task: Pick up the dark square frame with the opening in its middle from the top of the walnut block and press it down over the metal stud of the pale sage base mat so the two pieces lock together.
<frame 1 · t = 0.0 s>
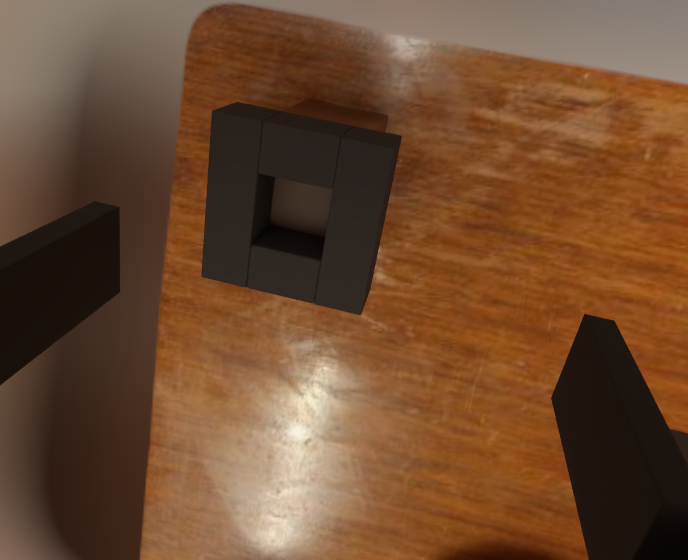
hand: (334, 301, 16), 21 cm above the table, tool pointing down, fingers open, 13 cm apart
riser: (338, 164, 36), on the table
dark square frame: (306, 199, 28), point 8 cm above the table, touching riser
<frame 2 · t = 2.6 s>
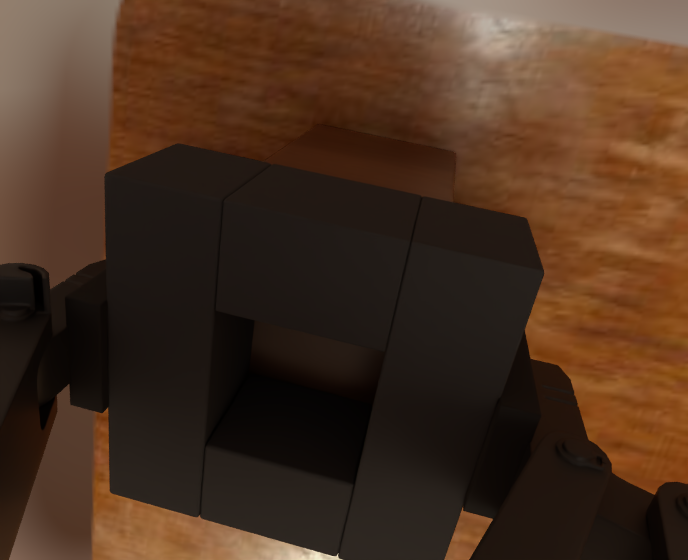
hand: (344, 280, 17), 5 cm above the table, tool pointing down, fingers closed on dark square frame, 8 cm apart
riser: (368, 229, 22), on the table
dark square frame: (320, 332, 14), point 8 cm above the table, touching gripper, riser
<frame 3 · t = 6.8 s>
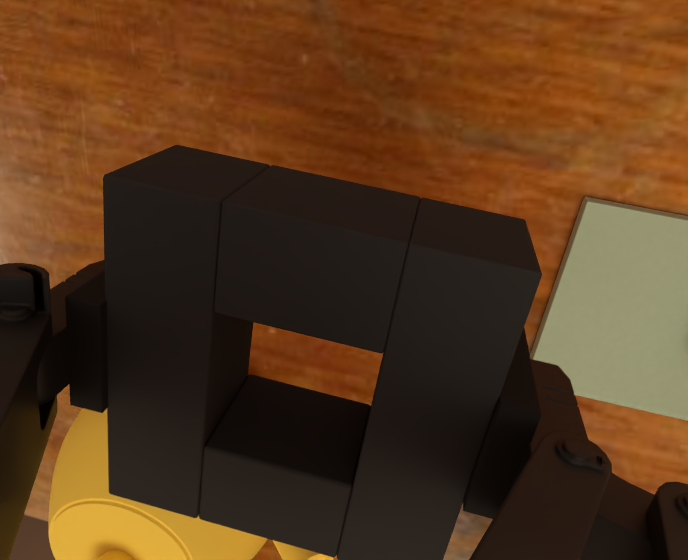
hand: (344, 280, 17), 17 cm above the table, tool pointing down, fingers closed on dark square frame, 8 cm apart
teapot: (231, 434, 44), on the table
dark square frame: (319, 333, 14), point 20 cm above the table, touching gripper
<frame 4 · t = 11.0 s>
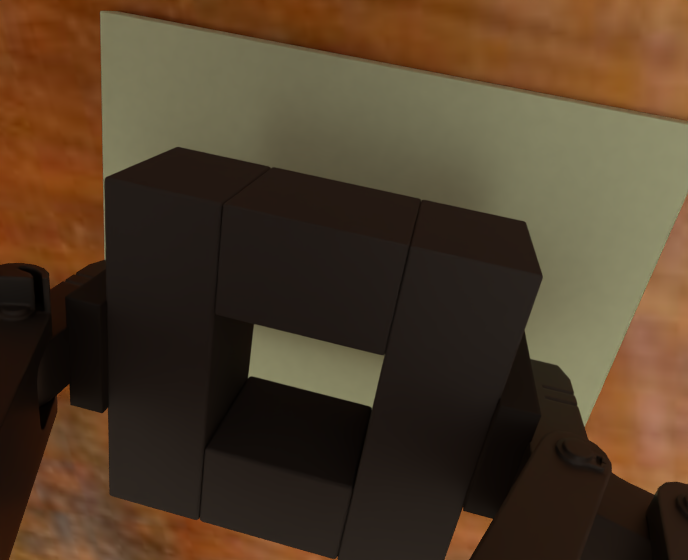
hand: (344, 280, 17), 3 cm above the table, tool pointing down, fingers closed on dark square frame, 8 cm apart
base mat: (359, 246, 20), on the table
dark square frame: (319, 335, 14), point 6 cm above the table, touching gripper
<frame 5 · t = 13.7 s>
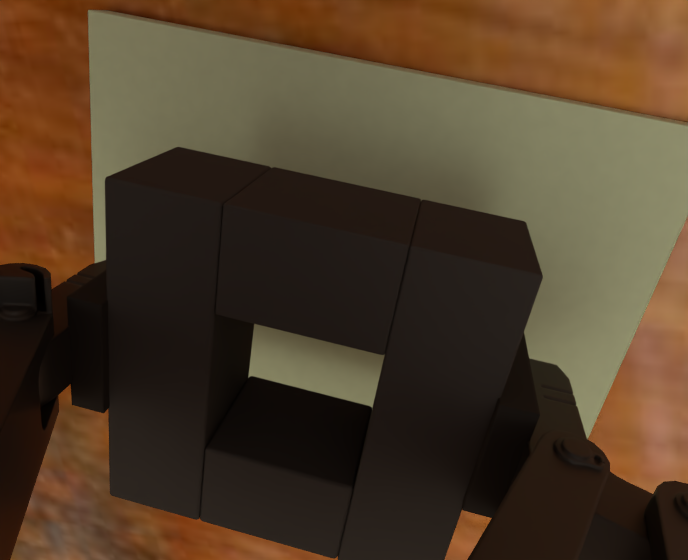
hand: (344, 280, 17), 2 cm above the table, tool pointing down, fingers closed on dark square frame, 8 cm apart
base mat: (356, 252, 19), on the table
dark square frame: (320, 334, 14), point 6 cm above the table, touching gripper
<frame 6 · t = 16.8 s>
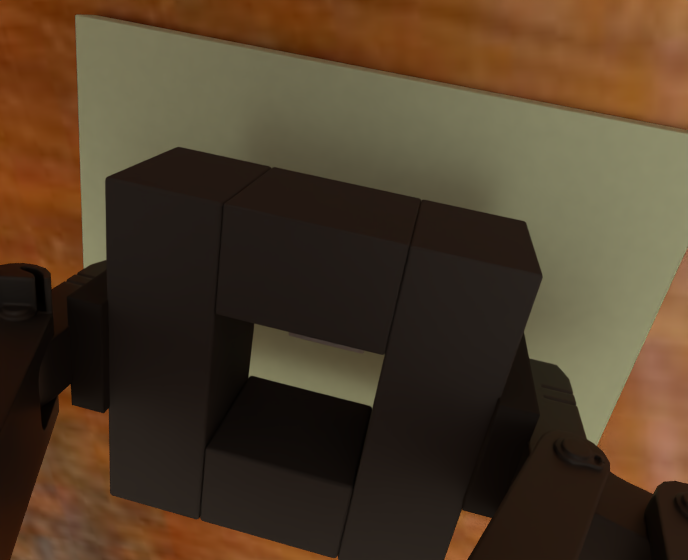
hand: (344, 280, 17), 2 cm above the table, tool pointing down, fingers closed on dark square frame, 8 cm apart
base mat: (353, 263, 19), on the table
dark square frame: (320, 334, 14), point 5 cm above the table, touching gripper
when the fingers open (2 cm above the table, at t = 19.6 s): dark square frame drops 5 cm, resting on base mat.
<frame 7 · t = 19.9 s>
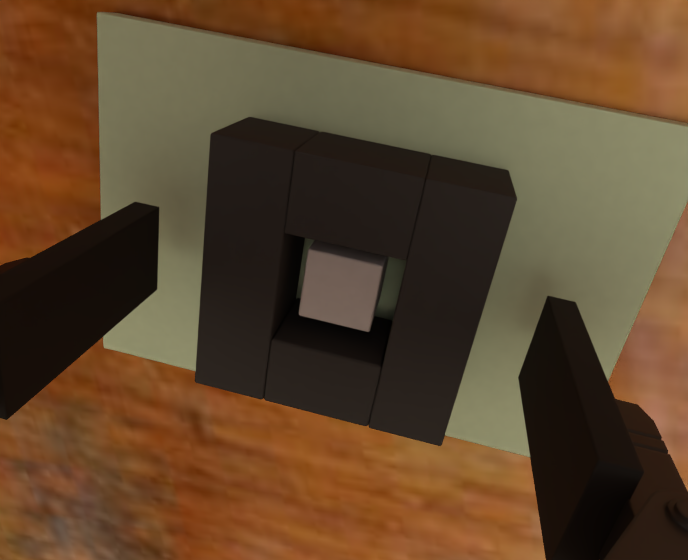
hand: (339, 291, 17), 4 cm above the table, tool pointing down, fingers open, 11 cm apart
base mat: (358, 249, 20), on the table
dark square frame: (353, 262, 19), point 1 cm above the table, touching base mat
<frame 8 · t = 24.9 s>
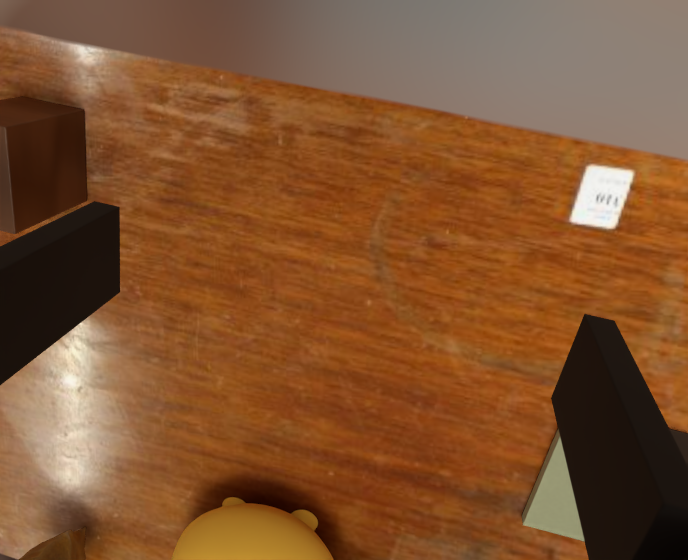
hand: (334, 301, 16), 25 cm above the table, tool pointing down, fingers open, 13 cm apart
base mat: (657, 492, 46), on the table
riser: (55, 149, 43), on the table
teapot: (292, 542, 56), on the table
decorative stone: (85, 524, 61), on the table
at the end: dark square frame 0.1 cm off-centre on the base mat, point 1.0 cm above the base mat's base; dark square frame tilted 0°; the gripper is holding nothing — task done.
